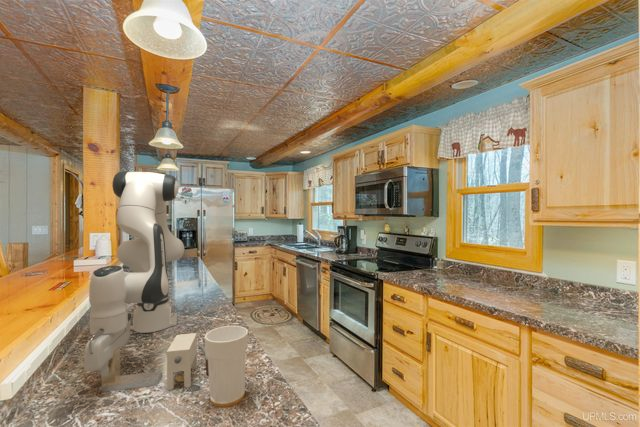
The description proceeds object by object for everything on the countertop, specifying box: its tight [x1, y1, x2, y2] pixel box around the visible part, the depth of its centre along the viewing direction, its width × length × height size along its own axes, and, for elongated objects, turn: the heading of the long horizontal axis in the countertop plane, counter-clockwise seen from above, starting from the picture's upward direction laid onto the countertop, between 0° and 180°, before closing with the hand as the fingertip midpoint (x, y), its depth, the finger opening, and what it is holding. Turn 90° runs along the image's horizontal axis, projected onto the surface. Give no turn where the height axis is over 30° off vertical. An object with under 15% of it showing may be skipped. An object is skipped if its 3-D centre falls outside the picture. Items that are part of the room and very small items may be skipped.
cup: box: [204, 325, 249, 408], centre depth 83 cm, size 11×11×17 cm
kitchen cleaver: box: [198, 343, 209, 377], centre depth 106 cm, size 24×1×10 cm
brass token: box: [174, 372, 184, 383], centre depth 93 cm, size 4×4×1 cm
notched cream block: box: [166, 332, 198, 391], centre depth 92 cm, size 13×6×11 cm, turn 12°
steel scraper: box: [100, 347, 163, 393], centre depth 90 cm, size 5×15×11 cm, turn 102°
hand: (109, 370), depth 88 cm, fingers closed on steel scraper, 3 cm apart
